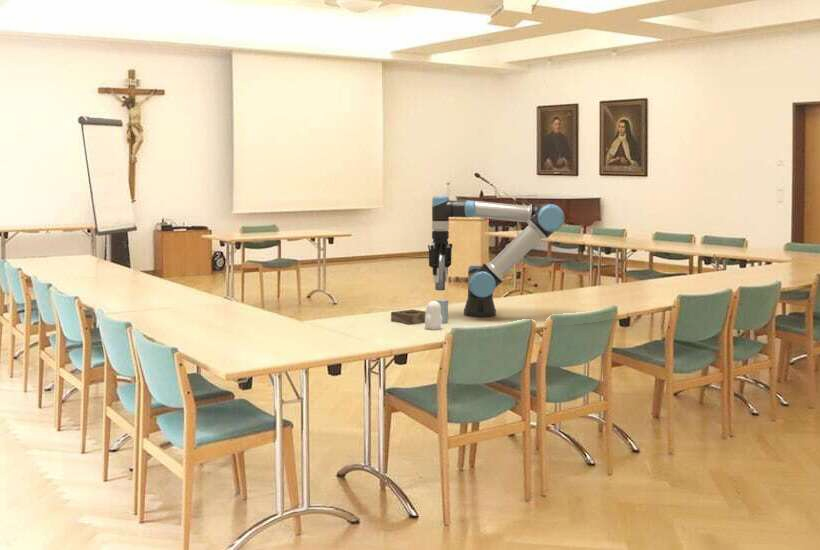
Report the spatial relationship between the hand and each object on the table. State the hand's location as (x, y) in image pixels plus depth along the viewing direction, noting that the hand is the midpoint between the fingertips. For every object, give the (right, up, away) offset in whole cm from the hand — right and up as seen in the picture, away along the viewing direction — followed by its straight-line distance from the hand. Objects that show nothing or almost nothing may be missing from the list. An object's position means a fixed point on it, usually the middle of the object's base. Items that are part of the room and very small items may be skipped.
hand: (440, 281), depth 405 cm
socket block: (-13, -18, -7) cm, 23 cm away
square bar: (0, -18, -9) cm, 20 cm away
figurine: (-4, -20, -24) cm, 32 cm away
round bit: (0, -4, 0) cm, 4 cm away
